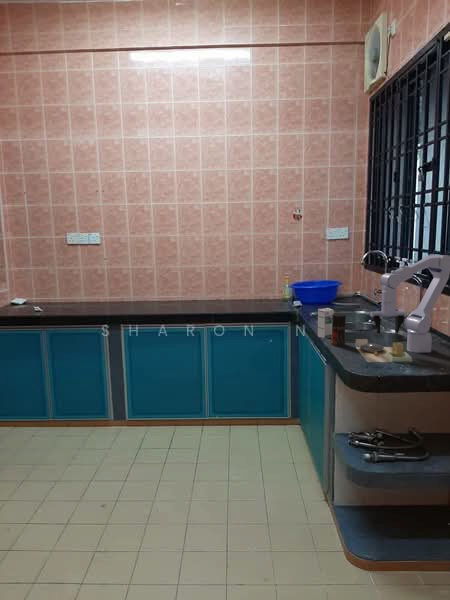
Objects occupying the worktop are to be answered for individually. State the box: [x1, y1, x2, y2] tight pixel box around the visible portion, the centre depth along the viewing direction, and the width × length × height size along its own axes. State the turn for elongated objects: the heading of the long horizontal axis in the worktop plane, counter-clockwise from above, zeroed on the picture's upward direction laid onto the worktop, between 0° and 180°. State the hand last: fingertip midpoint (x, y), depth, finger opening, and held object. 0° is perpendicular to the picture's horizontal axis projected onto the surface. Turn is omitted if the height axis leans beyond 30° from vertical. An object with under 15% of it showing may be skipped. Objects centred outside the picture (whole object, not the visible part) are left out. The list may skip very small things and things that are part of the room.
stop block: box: [392, 342, 404, 357], centre depth 181 cm, size 3×3×6 cm
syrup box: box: [317, 307, 335, 339], centre depth 220 cm, size 6×6×14 cm
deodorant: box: [331, 313, 347, 347], centre depth 203 cm, size 6×6×15 cm
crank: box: [354, 338, 385, 355], centre depth 193 cm, size 13×12×4 cm
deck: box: [355, 346, 393, 363], centre depth 188 cm, size 18×22×1 cm
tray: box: [386, 351, 413, 363], centre depth 181 cm, size 8×8×2 cm
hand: (387, 332), depth 188 cm, fingers open, 7 cm apart
